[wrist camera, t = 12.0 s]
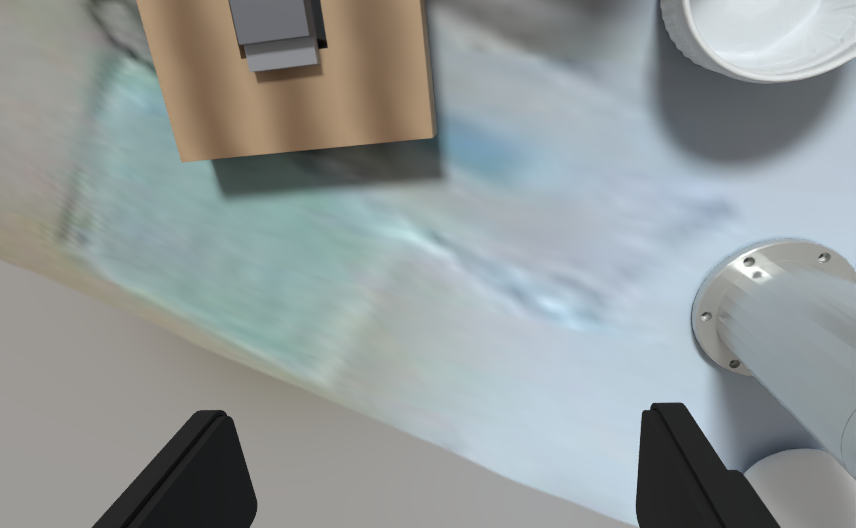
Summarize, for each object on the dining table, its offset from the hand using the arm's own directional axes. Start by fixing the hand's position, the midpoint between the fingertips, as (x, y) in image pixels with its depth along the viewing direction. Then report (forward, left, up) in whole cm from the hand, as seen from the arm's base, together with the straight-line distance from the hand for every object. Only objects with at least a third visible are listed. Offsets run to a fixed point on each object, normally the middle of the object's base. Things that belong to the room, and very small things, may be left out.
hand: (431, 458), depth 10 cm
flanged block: (+12, -16, -30) cm, 36 cm away
